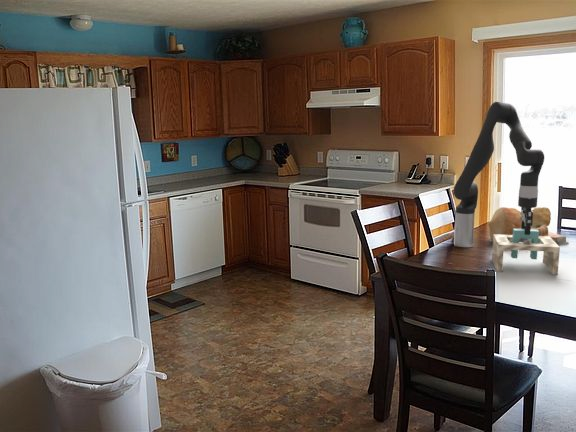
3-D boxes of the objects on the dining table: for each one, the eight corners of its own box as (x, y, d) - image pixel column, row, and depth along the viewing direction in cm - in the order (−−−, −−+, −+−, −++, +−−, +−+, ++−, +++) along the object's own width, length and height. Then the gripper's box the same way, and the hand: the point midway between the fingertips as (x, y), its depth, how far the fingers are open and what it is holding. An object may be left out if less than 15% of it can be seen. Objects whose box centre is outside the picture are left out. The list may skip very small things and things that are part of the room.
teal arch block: (512, 258, 245) (514, 230, 242) (510, 255, 249) (513, 228, 246) (536, 259, 242) (539, 231, 240) (534, 257, 246) (537, 229, 244)
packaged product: (570, 235, 285) (554, 237, 281) (569, 244, 286) (554, 246, 282) (542, 228, 301) (528, 230, 298) (542, 237, 302) (527, 239, 299)
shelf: (497, 271, 239) (499, 241, 237) (491, 259, 259) (493, 231, 256) (557, 274, 234) (560, 244, 231) (547, 262, 253) (549, 233, 250)
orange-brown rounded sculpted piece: (478, 216, 299) (530, 221, 302) (482, 249, 290) (536, 253, 293) (495, 199, 281) (551, 204, 284) (500, 233, 272) (558, 238, 276)
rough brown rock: (549, 231, 317) (550, 205, 316) (550, 235, 302) (551, 208, 301) (506, 229, 326) (507, 204, 325) (504, 233, 311) (505, 207, 310)
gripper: (516, 193, 248) (513, 228, 251) (521, 198, 234) (518, 235, 237) (534, 193, 246) (531, 229, 249) (540, 198, 232) (537, 236, 236)
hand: (525, 232), depth 243 cm, fingers open, 8 cm apart
